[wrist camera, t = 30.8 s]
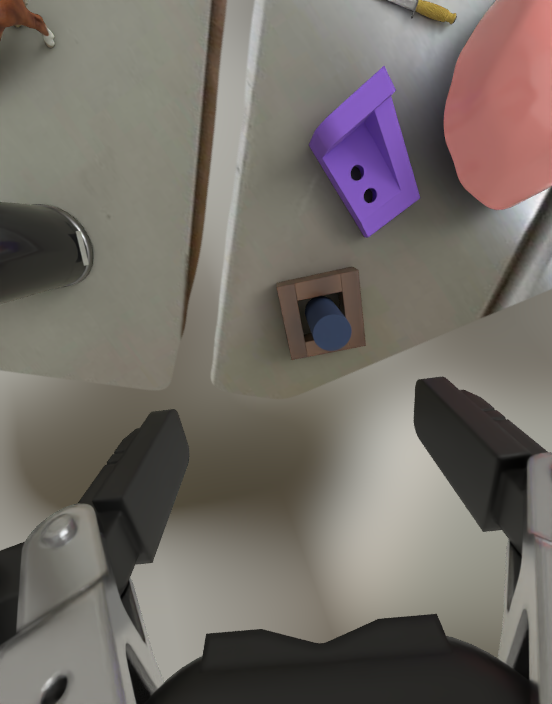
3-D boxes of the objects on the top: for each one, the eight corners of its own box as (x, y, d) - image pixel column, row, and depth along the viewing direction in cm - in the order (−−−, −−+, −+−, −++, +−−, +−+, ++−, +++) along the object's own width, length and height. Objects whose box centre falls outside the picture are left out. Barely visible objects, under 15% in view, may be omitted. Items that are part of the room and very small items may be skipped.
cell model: (651, -238, 17) (477, -48, 28) (497, 137, 21) (396, 178, 32) (765, -47, 22) (583, 51, 33) (625, 222, 27) (503, 233, 37)
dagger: (348, -11, 28) (355, -39, 27) (346, -3, 28) (353, -30, 28) (452, 29, 28) (462, 2, 28) (447, 35, 29) (457, 10, 29)
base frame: (290, 351, 43) (291, 360, 40) (276, 282, 39) (276, 287, 36) (359, 337, 42) (365, 345, 39) (352, 266, 38) (358, 269, 35)
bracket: (308, 145, 33) (317, 126, 27) (361, 97, 31) (384, 65, 25) (364, 237, 37) (383, 239, 30) (414, 199, 35) (445, 193, 29)
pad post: (309, 292, 39) (319, 310, 31) (339, 300, 40) (357, 319, 31) (301, 321, 41) (308, 346, 33) (329, 328, 41) (344, 354, 33)
